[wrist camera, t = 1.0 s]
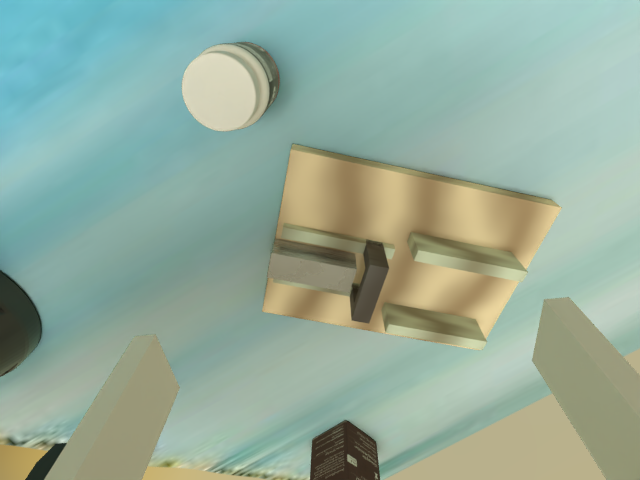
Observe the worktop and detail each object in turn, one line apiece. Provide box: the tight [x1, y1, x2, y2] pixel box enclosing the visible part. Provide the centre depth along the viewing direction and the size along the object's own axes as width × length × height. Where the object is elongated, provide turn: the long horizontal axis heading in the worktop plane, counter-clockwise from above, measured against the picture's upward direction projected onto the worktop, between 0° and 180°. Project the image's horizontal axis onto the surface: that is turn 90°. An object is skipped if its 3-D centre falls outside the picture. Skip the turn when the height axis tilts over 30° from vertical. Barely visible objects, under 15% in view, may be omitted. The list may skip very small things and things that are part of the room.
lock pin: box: [267, 239, 357, 293], centre depth 32 cm, size 7×2×2 cm, turn 78°
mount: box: [262, 144, 561, 350], centre depth 32 cm, size 22×16×6 cm
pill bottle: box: [182, 42, 280, 131], centre depth 24 cm, size 5×5×8 cm
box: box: [310, 421, 380, 480], centre depth 45 cm, size 6×6×7 cm
